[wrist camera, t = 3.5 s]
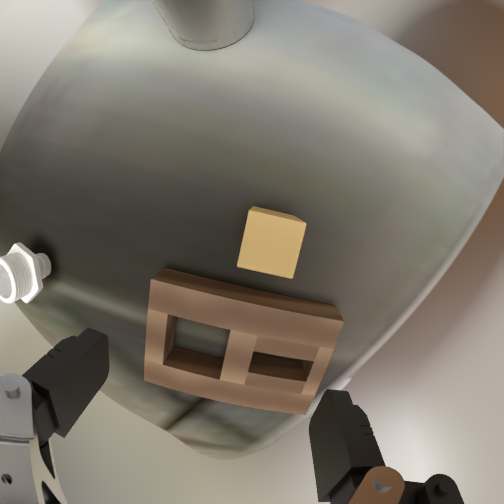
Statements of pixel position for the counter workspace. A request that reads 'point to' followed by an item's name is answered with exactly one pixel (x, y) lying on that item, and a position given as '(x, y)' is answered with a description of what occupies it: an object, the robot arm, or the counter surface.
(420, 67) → the counter surface
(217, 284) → the socket block
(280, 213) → the square peg
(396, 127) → the counter surface
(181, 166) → the counter surface
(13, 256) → the pipe fitting
